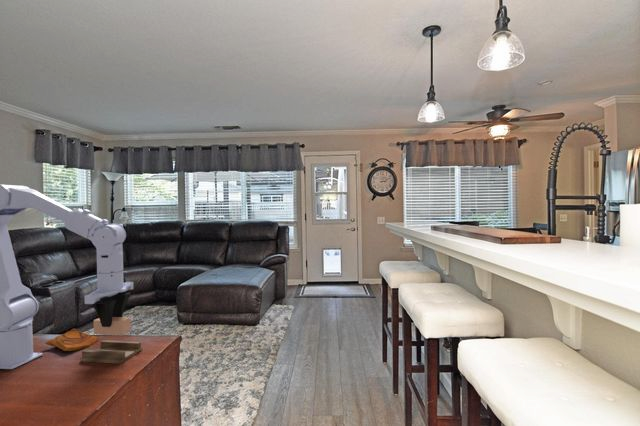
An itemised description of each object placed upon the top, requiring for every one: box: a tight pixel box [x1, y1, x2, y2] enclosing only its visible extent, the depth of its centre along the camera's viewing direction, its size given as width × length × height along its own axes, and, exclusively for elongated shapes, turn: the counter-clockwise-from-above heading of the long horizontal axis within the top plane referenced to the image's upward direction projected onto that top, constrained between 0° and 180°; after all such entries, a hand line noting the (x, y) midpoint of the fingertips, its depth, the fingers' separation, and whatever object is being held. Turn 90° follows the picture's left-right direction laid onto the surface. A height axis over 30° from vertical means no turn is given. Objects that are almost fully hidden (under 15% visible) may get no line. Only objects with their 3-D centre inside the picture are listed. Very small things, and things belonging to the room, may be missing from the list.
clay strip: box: [93, 316, 132, 336], centre depth 87 cm, size 8×3×4 cm, turn 82°
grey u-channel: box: [80, 339, 143, 364], centre depth 88 cm, size 11×8×2 cm
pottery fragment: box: [44, 328, 99, 352], centre depth 94 cm, size 10×5×10 cm
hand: (111, 323), depth 87 cm, fingers closed on clay strip, 3 cm apart
